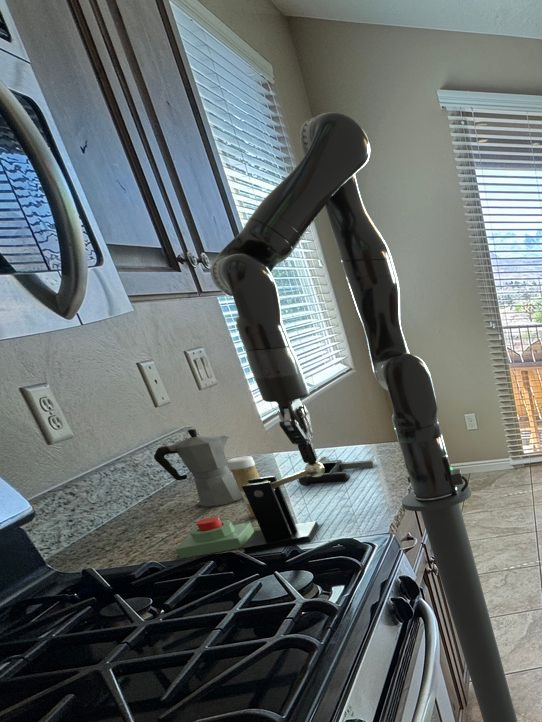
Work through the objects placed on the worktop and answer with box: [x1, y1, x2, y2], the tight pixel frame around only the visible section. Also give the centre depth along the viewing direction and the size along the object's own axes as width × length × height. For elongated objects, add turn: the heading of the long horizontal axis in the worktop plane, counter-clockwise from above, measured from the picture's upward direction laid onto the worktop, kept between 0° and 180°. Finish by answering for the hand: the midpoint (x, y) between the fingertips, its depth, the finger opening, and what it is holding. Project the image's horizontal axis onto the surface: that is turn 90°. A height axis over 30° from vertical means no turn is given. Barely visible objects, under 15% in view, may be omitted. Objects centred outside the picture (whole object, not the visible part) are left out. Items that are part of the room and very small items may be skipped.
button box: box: [175, 520, 255, 560], centre depth 115 cm, size 10×9×4 cm
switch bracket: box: [242, 474, 319, 554], centre depth 114 cm, size 11×9×13 cm
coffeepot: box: [153, 428, 243, 508], centre depth 136 cm, size 15×9×18 cm, turn 158°
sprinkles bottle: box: [226, 455, 261, 519], centre depth 127 cm, size 5×5×14 cm
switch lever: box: [260, 461, 325, 491], centre depth 113 cm, size 13×3×3 cm, turn 114°
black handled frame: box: [296, 456, 375, 487], centre depth 155 cm, size 3×20×16 cm
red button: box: [195, 516, 222, 531], centre depth 113 cm, size 4×4×2 cm
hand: (311, 461), depth 113 cm, fingers closed
